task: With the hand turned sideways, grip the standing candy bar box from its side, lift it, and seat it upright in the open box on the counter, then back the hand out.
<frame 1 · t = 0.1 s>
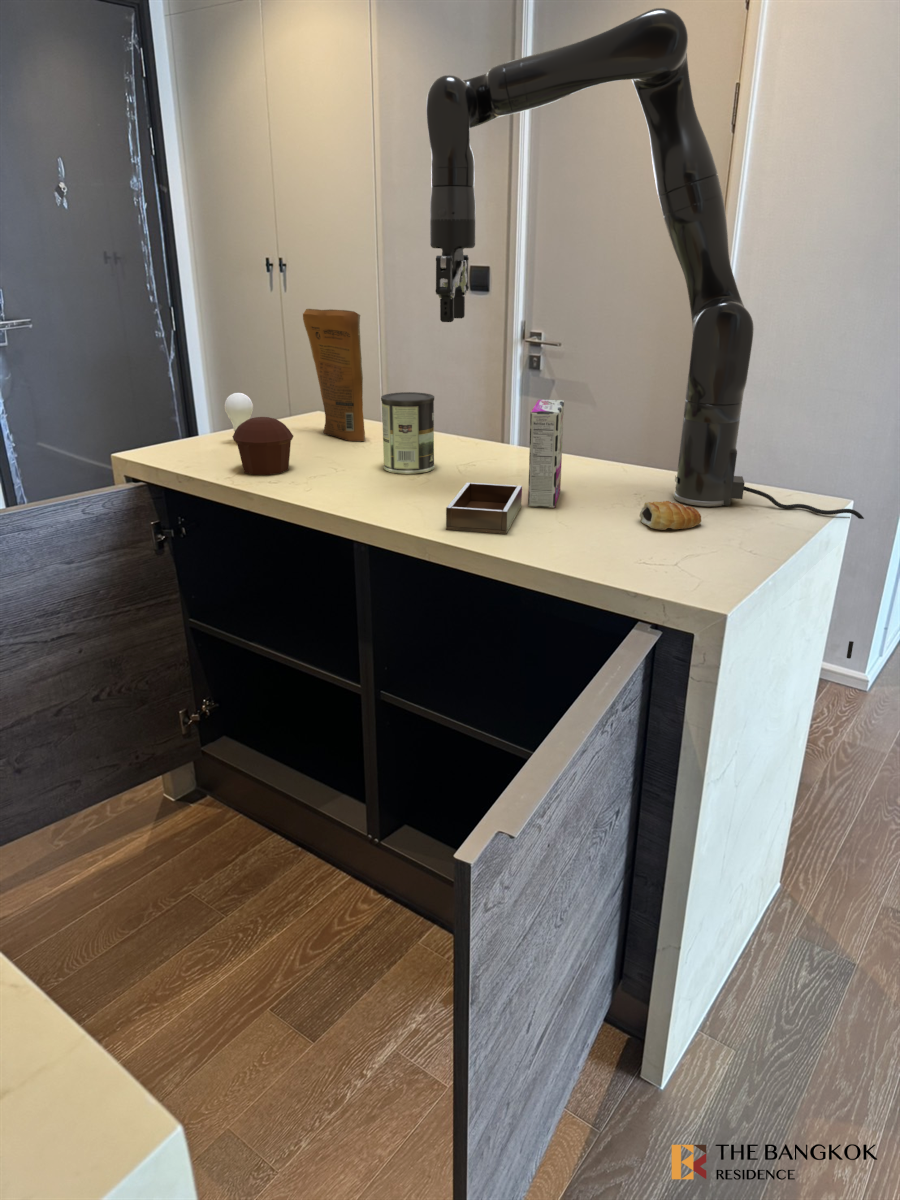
hand: (452, 320, 149), 29 cm above the table, tool pointing down, fingers open, 8 cm apart
pastry: (666, 525, 138), on the table
coffee can: (408, 468, 172), on the table
open box: (485, 517, 141), on the table
muffin: (265, 470, 170), on the table
lightbulb: (242, 443, 192), on the table
pancake mix bag: (341, 437, 199), on the table
candy bar box: (543, 500, 151), on the table
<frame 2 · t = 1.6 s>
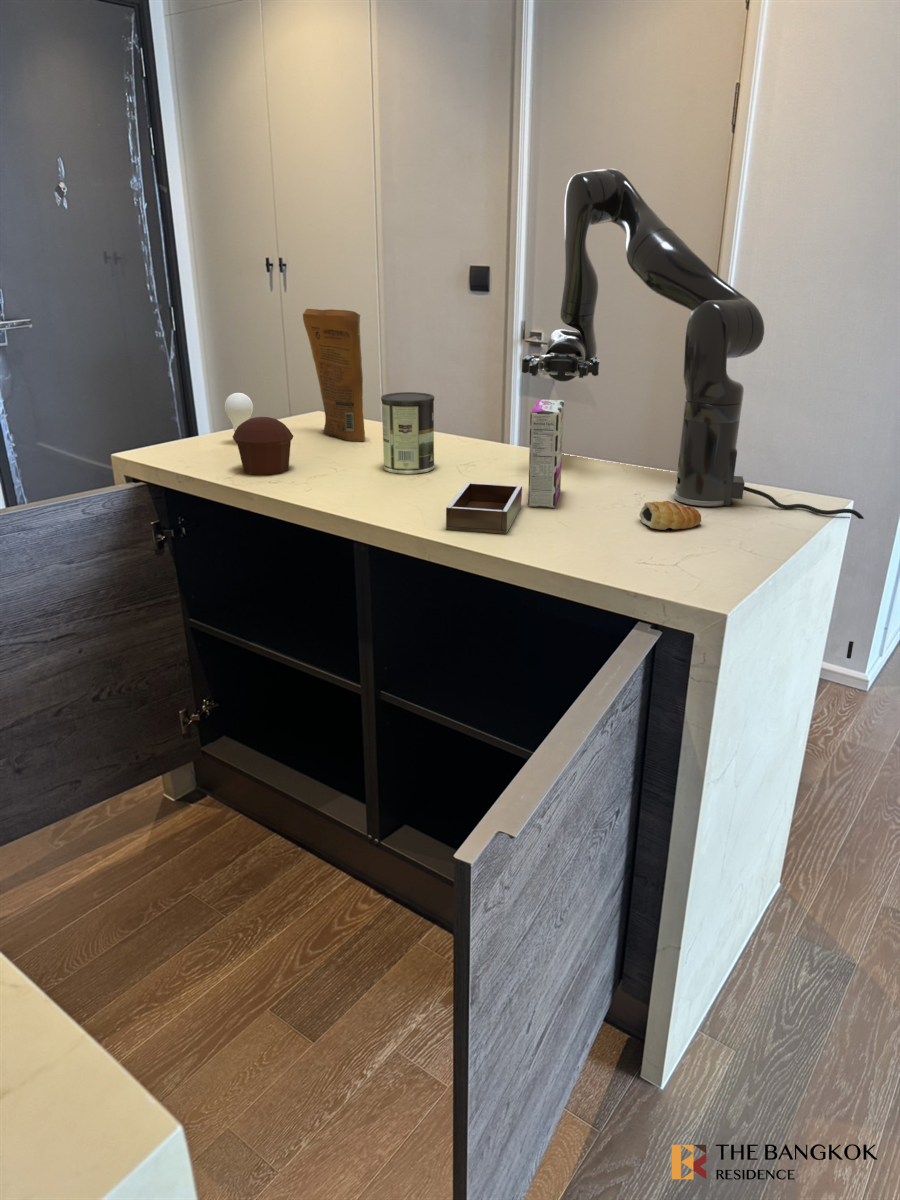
hand: (557, 371, 155), 20 cm above the table, tool horizontal, fingers open, 8 cm apart
nothing on the table moved.
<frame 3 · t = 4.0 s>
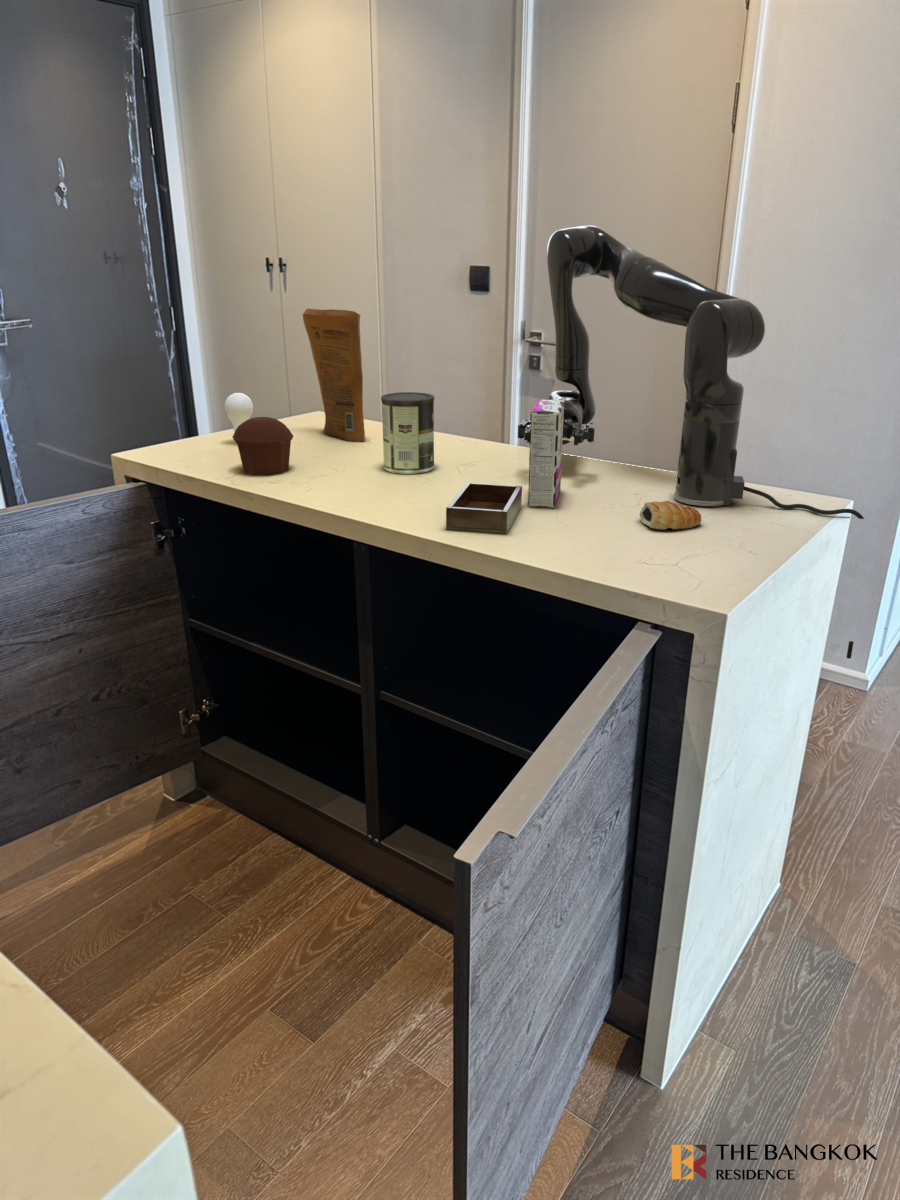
hand: (552, 438, 156), 9 cm above the table, tool horizontal, fingers open, 8 cm apart
nothing on the table moved.
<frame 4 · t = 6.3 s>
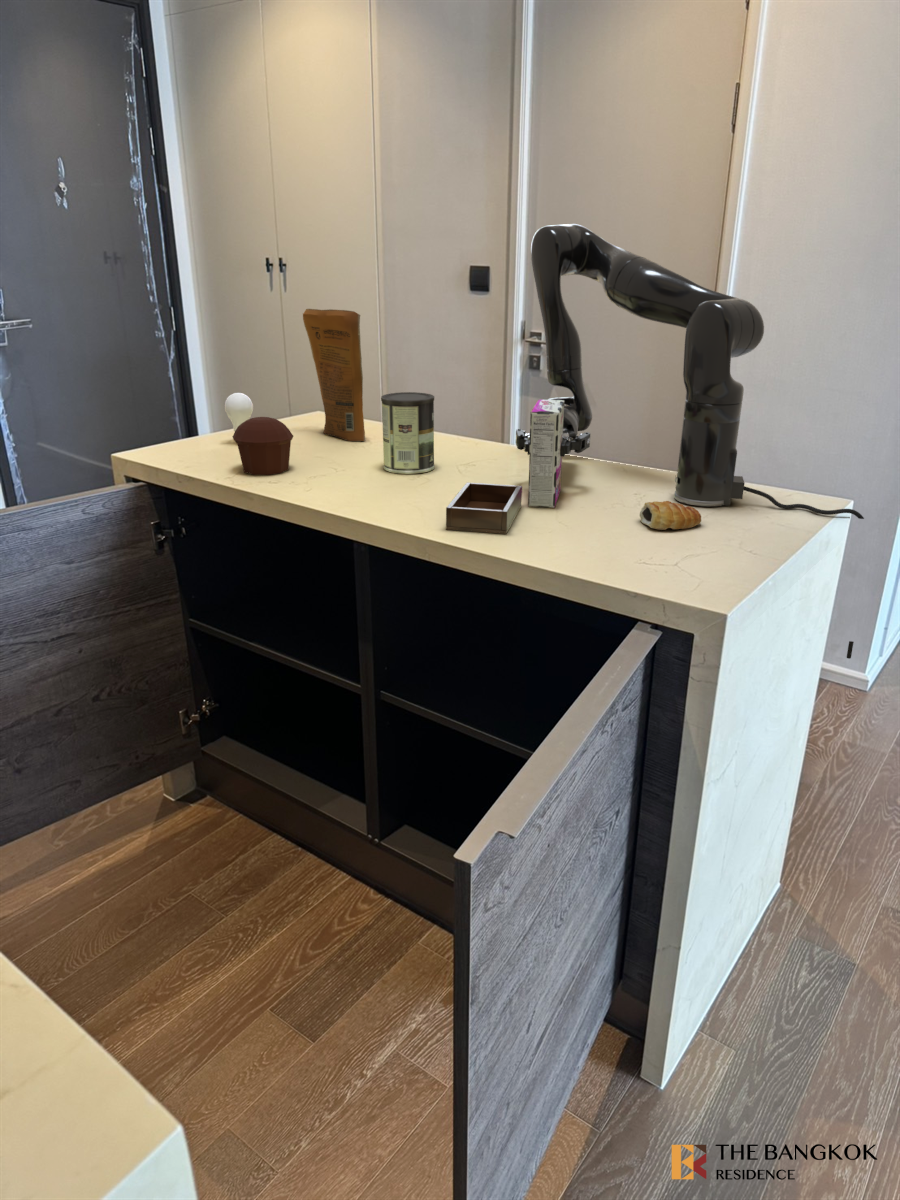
hand: (546, 449, 148), 9 cm above the table, tool horizontal, fingers closed on candy bar box, 5 cm apart
candy bar box: (543, 500, 151), on the table, touching gripper
everything else where it was.
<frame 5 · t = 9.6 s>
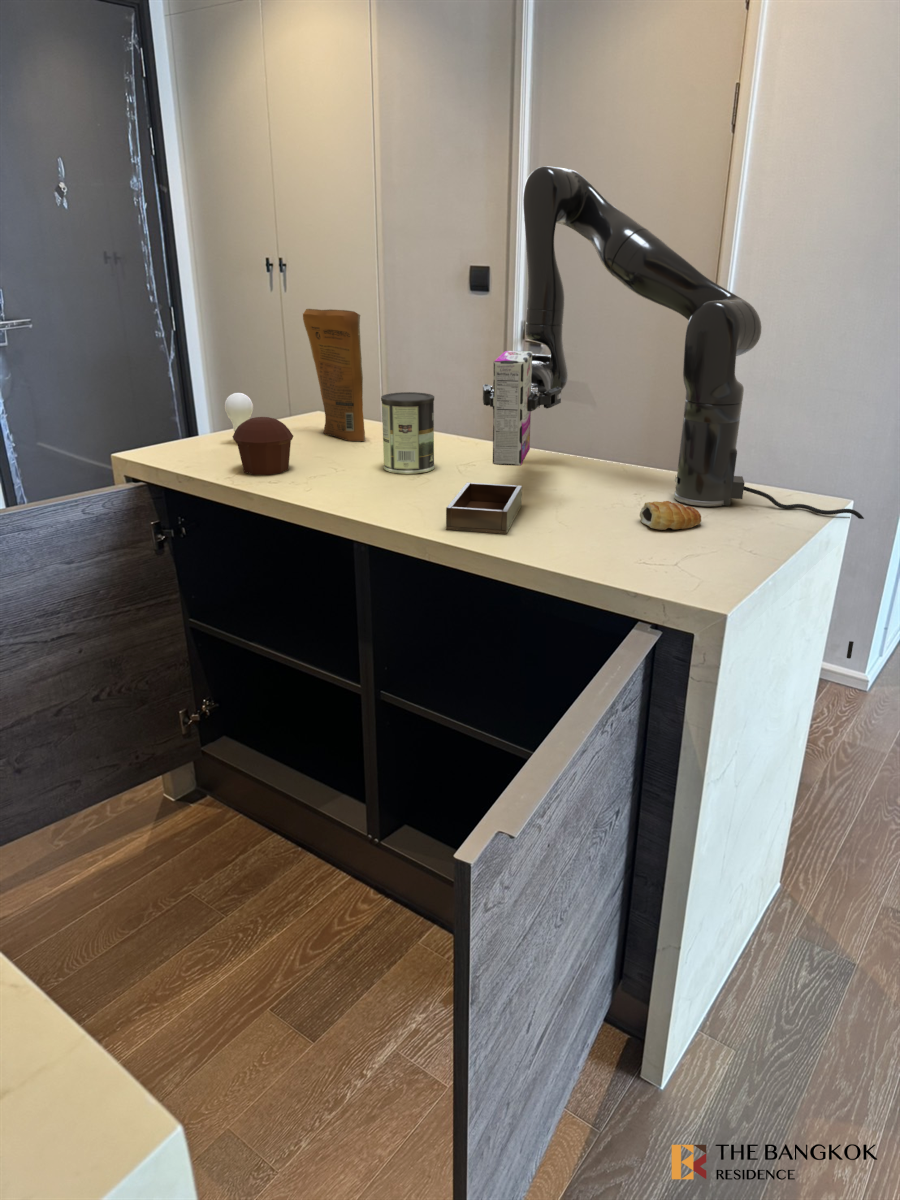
hand: (512, 404, 138), 18 cm above the table, tool horizontal, fingers closed on candy bar box, 5 cm apart
candy bar box: (510, 458, 142), point 9 cm above the table, touching gripper
everything else where it was.
when the fingers open (9 cm above the table, at t = 13.1 s): candy bar box stays where it is, resting on open box.
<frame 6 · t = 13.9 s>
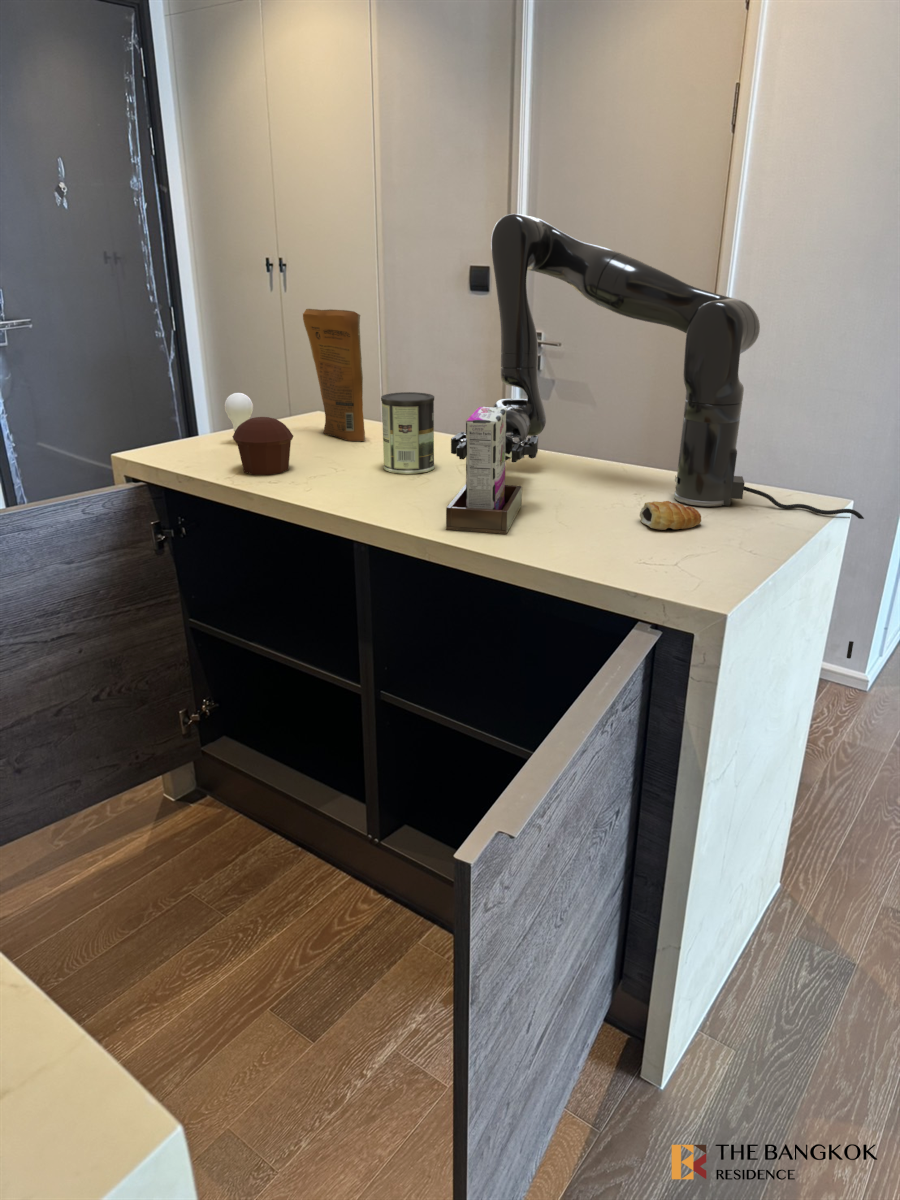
hand: (487, 454, 138), 10 cm above the table, tool horizontal, fingers open, 8 cm apart
candy bar box: (485, 514, 141), resting on open box
everything else where it was.
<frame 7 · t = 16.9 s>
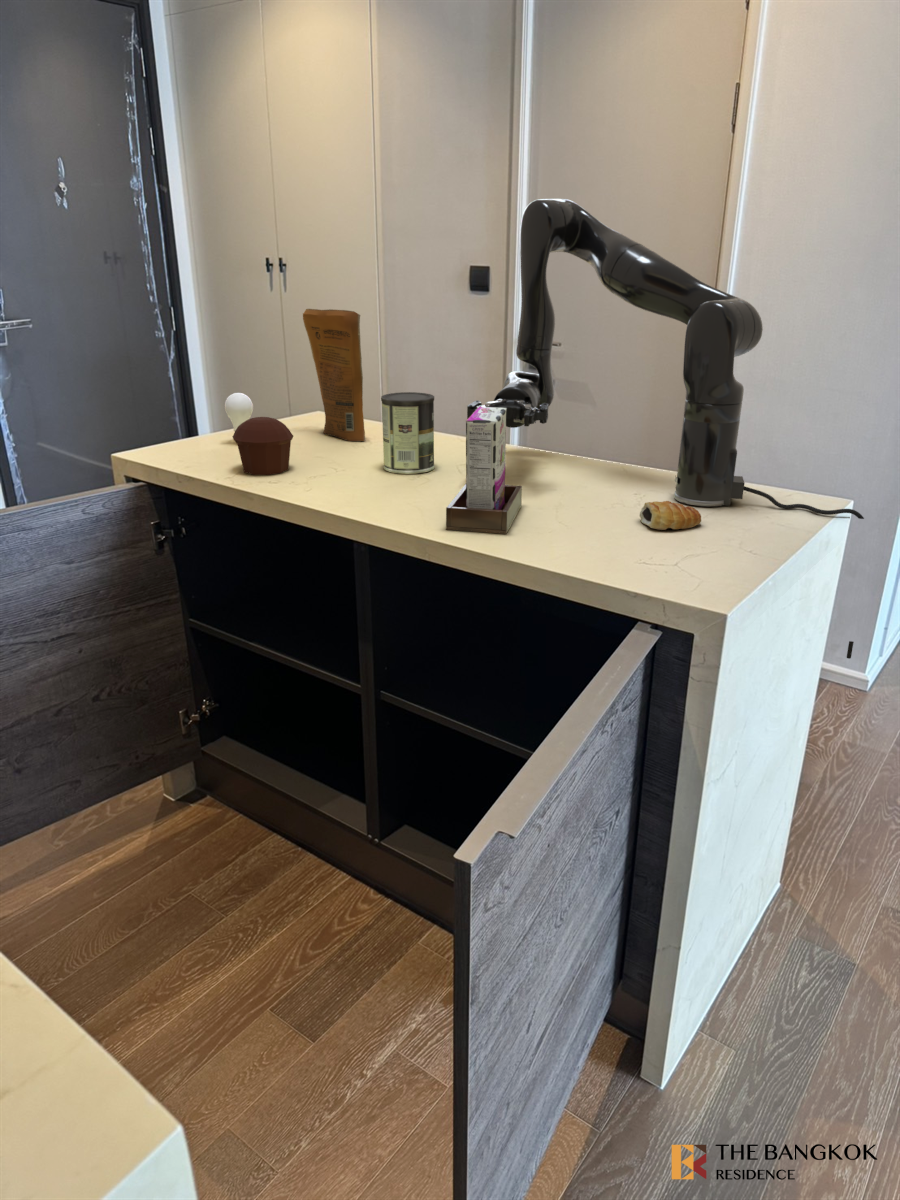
hand: (501, 419, 148), 14 cm above the table, tool horizontal, fingers open, 8 cm apart
nothing on the table moved.
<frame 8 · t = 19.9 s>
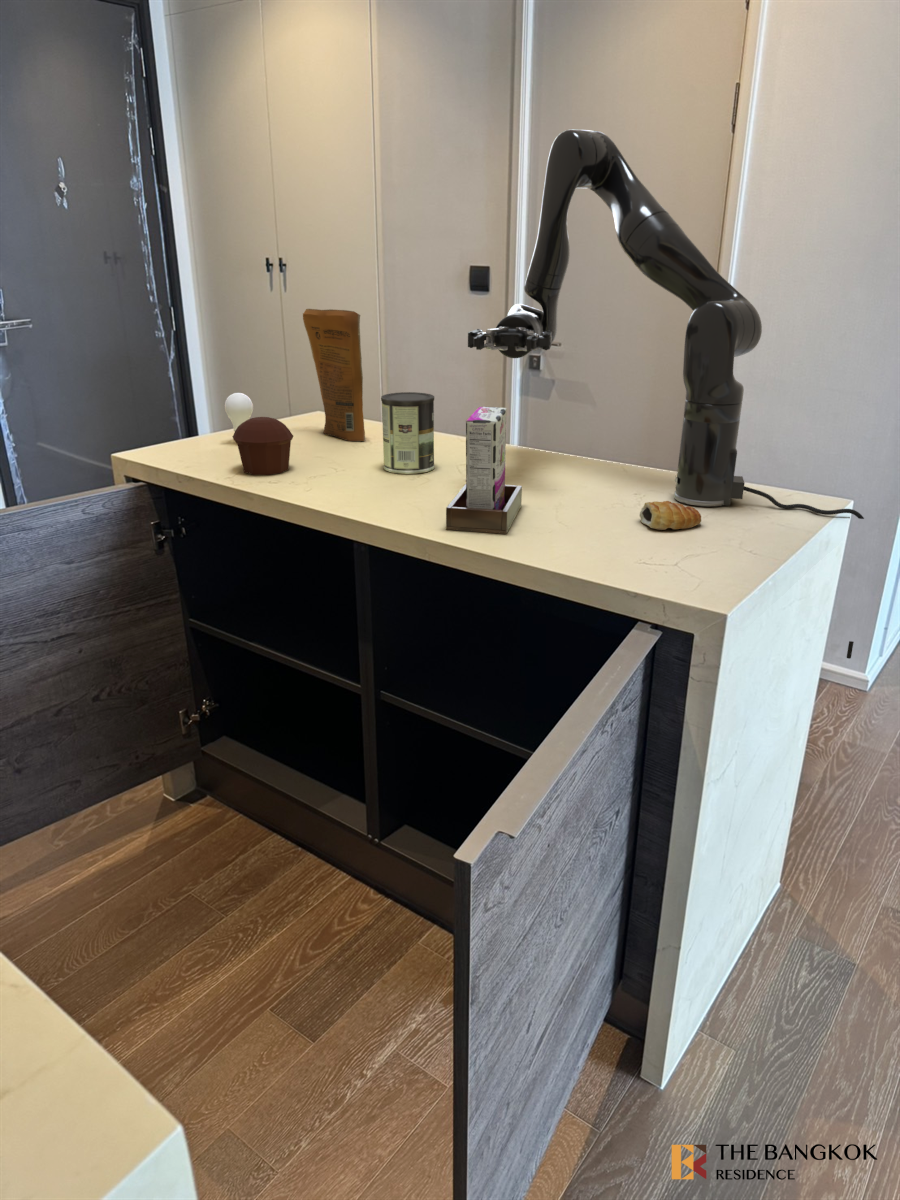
hand: (503, 344, 143), 26 cm above the table, tool horizontal, fingers open, 8 cm apart
nothing on the table moved.
at the end: candy bar box inside the target area in the open box (0.2 cm from its centre), point 0.4 cm above the open box's base; candy bar box tilted 0°; the gripper is holding nothing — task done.
